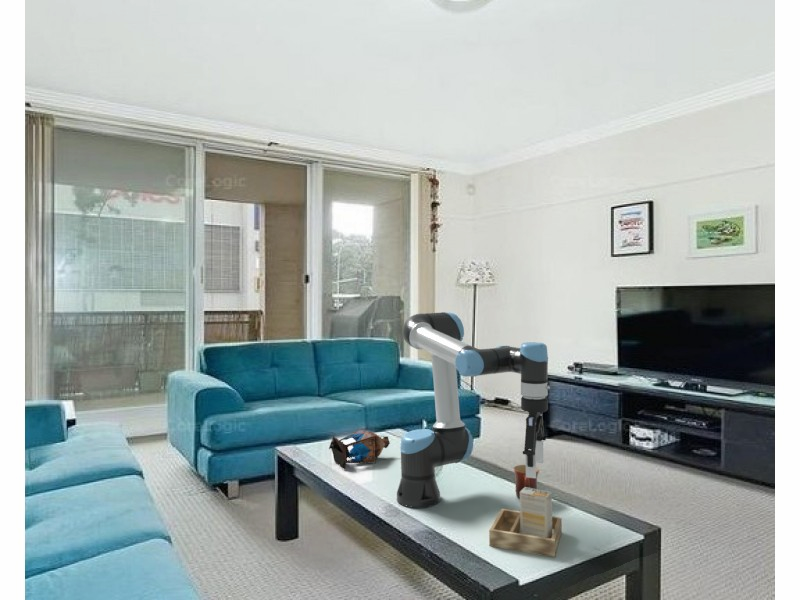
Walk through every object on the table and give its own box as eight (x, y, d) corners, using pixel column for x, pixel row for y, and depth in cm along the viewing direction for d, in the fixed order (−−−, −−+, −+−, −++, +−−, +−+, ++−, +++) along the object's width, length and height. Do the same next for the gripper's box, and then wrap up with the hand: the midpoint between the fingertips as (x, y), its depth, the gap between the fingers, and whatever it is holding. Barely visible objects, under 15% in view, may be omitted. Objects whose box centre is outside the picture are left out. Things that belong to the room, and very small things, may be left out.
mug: (513, 492, 192) (513, 464, 192) (538, 494, 190) (538, 465, 190) (513, 506, 180) (513, 475, 180) (540, 507, 179) (540, 477, 178)
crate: (489, 545, 153) (489, 530, 153) (501, 522, 168) (501, 508, 168) (554, 557, 146) (554, 540, 146) (561, 532, 161) (561, 517, 161)
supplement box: (553, 536, 156) (552, 491, 155) (547, 543, 152) (547, 497, 151) (525, 529, 160) (525, 486, 160) (519, 536, 156) (519, 491, 156)
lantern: (338, 481, 224) (390, 467, 236) (347, 459, 214) (400, 445, 227) (324, 449, 234) (375, 437, 246) (332, 426, 224) (384, 415, 237)
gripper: (541, 406, 142) (541, 486, 143) (553, 389, 165) (554, 458, 165) (512, 404, 145) (513, 482, 145) (528, 387, 168) (529, 455, 168)
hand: (534, 469), depth 155 cm, fingers open, 13 cm apart
